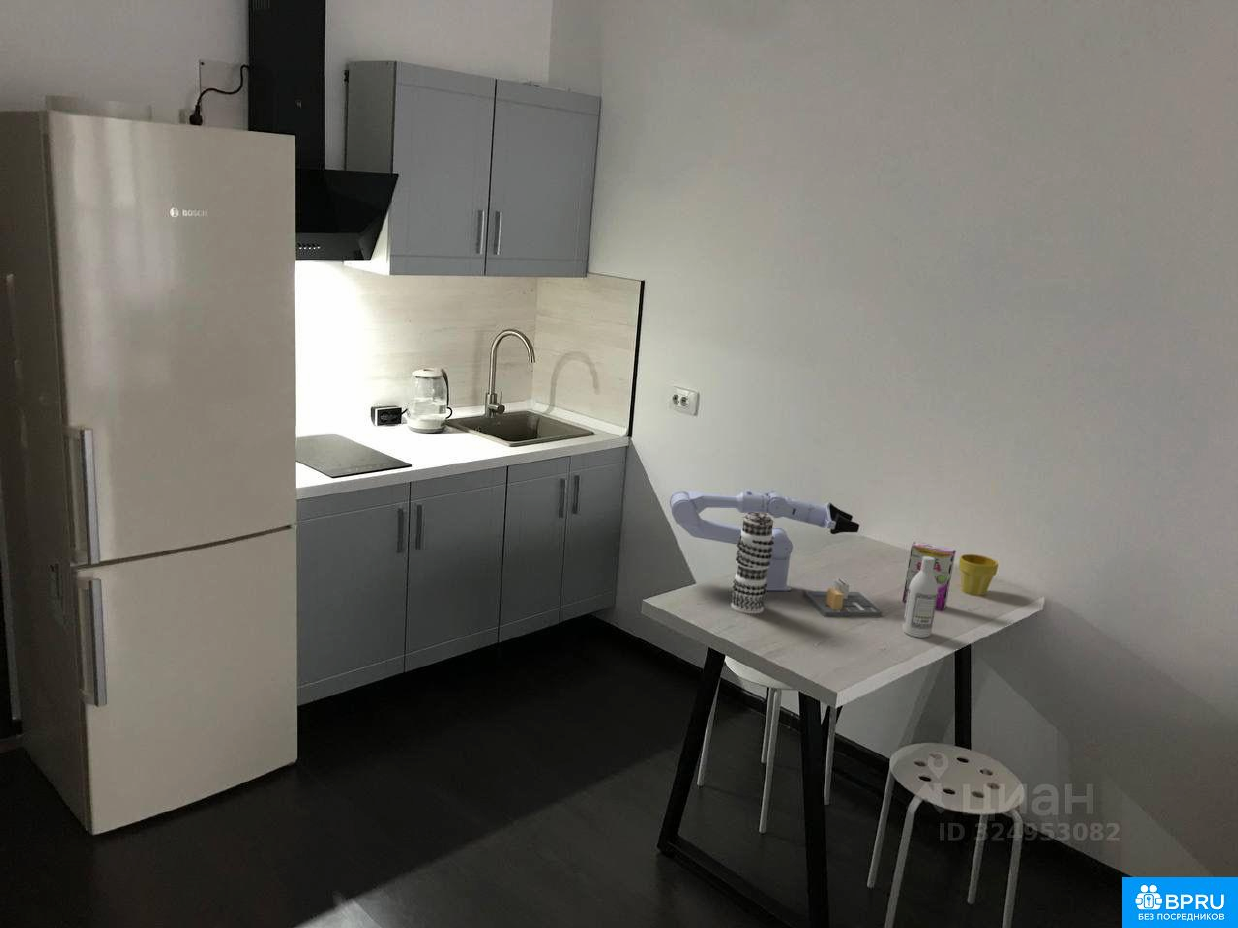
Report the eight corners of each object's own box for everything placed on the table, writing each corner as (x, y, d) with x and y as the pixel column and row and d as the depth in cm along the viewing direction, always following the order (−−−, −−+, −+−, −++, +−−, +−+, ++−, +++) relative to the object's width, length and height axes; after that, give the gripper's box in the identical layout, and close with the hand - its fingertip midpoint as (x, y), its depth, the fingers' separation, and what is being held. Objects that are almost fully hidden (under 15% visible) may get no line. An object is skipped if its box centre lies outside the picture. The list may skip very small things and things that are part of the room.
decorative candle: (770, 606, 269) (782, 514, 264) (757, 616, 261) (769, 522, 256) (737, 598, 273) (748, 507, 268) (724, 607, 265) (735, 514, 260)
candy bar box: (901, 602, 282) (910, 545, 278) (905, 597, 286) (914, 540, 283) (943, 611, 278) (953, 553, 274) (946, 606, 282) (956, 549, 278)
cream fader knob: (838, 598, 276) (840, 584, 275) (831, 592, 280) (834, 578, 280) (847, 598, 277) (849, 584, 276) (840, 592, 281) (842, 578, 280)
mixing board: (825, 616, 266) (825, 611, 266) (802, 595, 280) (803, 591, 280) (882, 616, 270) (882, 612, 269) (857, 595, 284) (857, 591, 283)
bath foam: (936, 637, 259) (949, 561, 254) (915, 639, 255) (927, 563, 251) (917, 626, 265) (929, 552, 260) (896, 629, 262) (908, 554, 257)
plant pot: (987, 601, 289) (993, 568, 287) (950, 591, 295) (955, 558, 292) (996, 592, 298) (1002, 560, 295) (960, 583, 303) (966, 551, 301)
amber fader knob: (832, 609, 268) (835, 593, 267) (825, 602, 272) (828, 587, 271) (841, 609, 268) (843, 594, 268) (834, 602, 273) (836, 587, 272)
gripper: (816, 506, 273) (865, 518, 274) (806, 491, 287) (853, 502, 288) (808, 531, 275) (857, 543, 275) (799, 514, 289) (845, 525, 290)
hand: (854, 523), depth 282 cm, fingers open, 7 cm apart
